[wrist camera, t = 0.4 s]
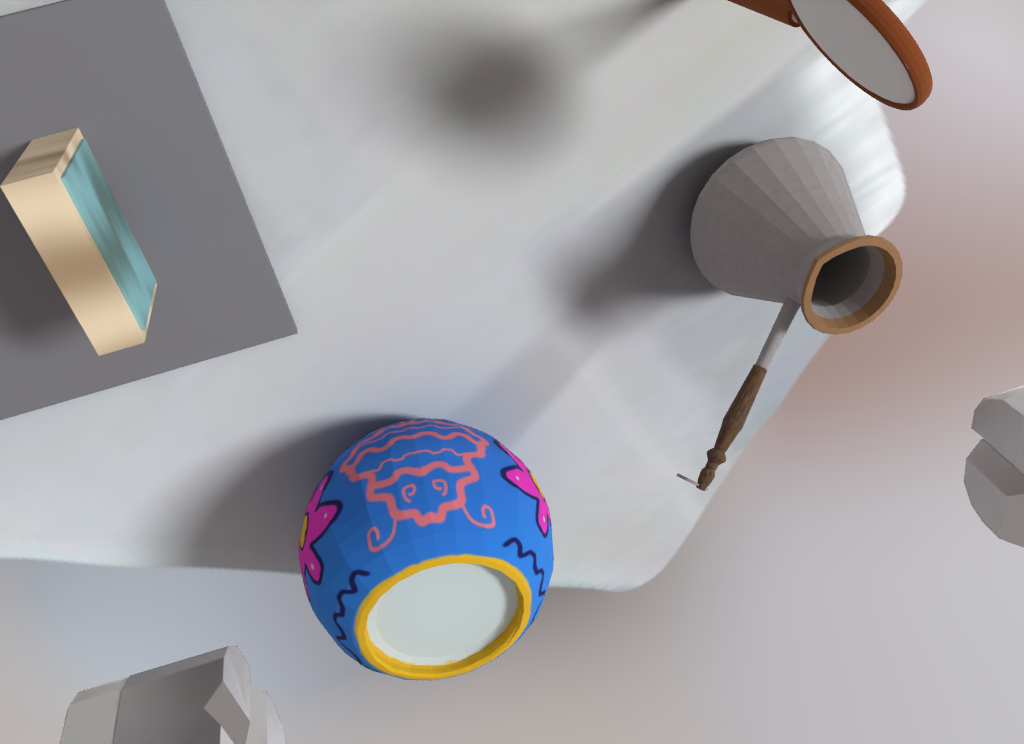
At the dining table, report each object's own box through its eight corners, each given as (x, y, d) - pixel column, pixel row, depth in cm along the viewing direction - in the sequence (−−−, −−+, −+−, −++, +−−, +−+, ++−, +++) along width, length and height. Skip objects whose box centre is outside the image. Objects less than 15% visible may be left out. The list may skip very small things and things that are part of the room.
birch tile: (32, 139, 46) (-1, 186, 40) (81, 126, 46) (57, 171, 40) (116, 296, 51) (98, 355, 46) (160, 283, 52) (148, 341, 46)
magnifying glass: (651, -68, 48) (849, -7, 32) (674, -92, 48) (885, -42, 32) (731, 42, 53) (939, 143, 37) (752, 21, 52) (971, 114, 36)
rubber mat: (-332, 98, 41) (-339, 102, 41) (155, -23, 44) (154, -21, 43) (-69, 435, 54) (-72, 441, 54) (297, 328, 56) (297, 333, 56)
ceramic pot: (316, 575, 69) (329, 739, 57) (274, 399, 59) (277, 552, 47) (524, 532, 72) (577, 679, 60) (517, 358, 62) (579, 491, 50)
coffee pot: (753, 90, 55) (893, 169, 43) (854, 179, 61) (1003, 271, 49) (557, 338, 62) (629, 466, 50) (664, 397, 68) (753, 526, 56)
